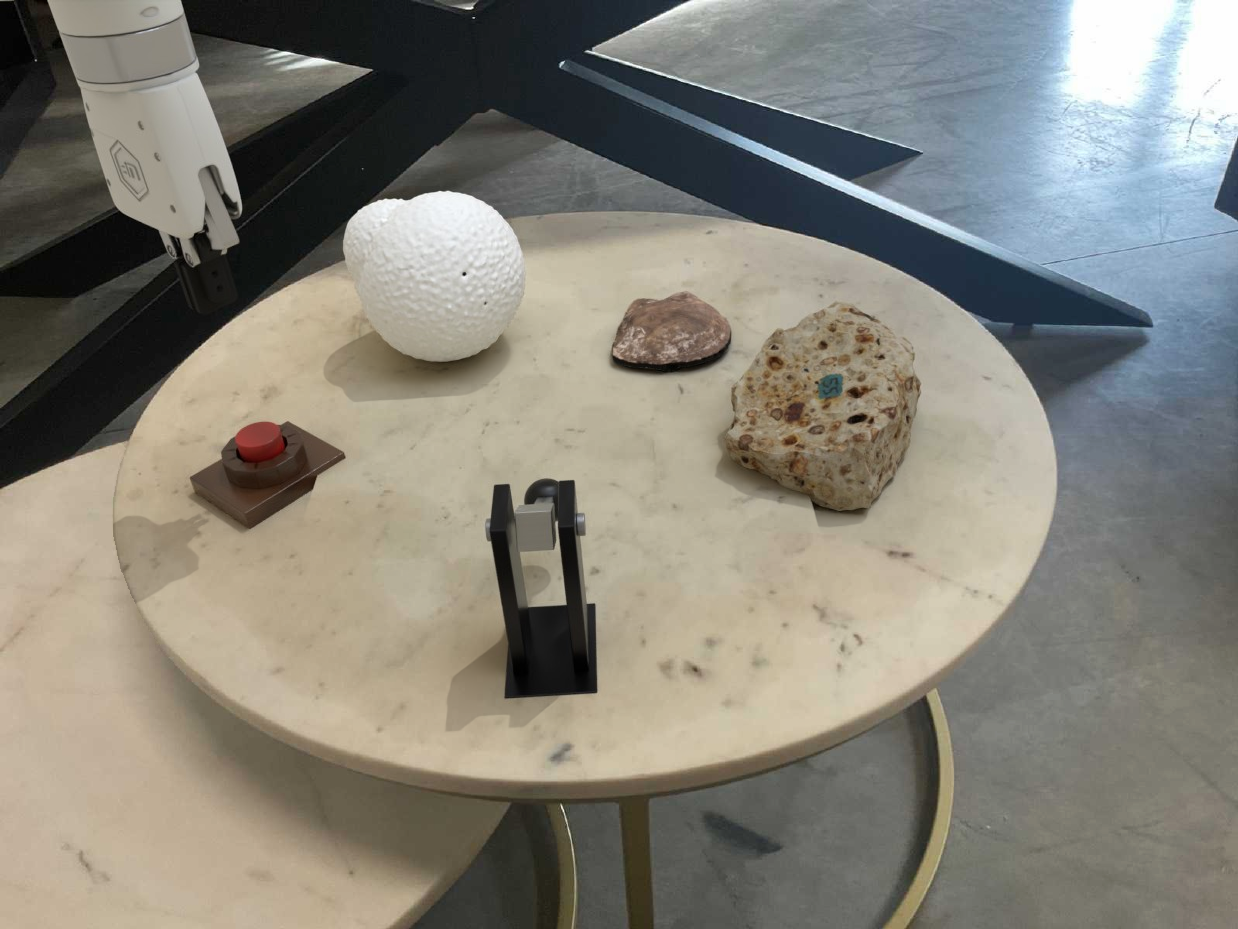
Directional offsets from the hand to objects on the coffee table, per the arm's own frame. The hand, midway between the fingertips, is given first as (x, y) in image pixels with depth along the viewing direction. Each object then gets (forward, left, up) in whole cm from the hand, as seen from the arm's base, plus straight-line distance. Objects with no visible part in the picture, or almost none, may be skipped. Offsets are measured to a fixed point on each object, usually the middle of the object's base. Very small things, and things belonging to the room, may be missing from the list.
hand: (214, 304), depth 77 cm
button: (0, 0, -14) cm, 14 cm away
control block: (0, 0, -17) cm, 17 cm away
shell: (+38, -14, -17) cm, 44 cm away
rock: (+33, -34, -17) cm, 50 cm away
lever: (+2, -30, -9) cm, 32 cm away
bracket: (0, -33, -17) cm, 37 cm away
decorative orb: (+24, +4, -17) cm, 29 cm away
